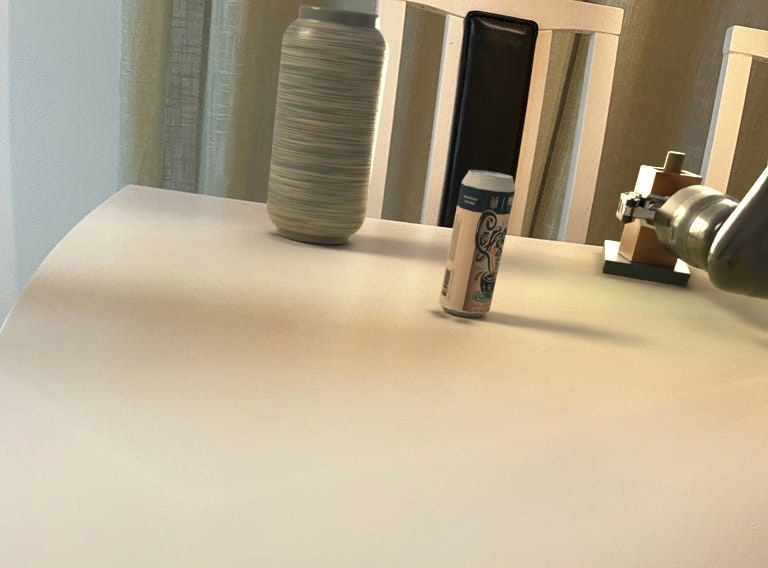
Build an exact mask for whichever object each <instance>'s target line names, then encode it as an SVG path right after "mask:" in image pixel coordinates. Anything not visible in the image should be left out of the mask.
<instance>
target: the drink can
mask: <svg viewBox="0 0 768 568" xmlns="http://www.w3.org/2000/svg"><path fill="white" fill-rule="evenodd" d="M515 193H516V186H515V181H514V177H513V176H512V175H510V174H509V175H508V174H505V173H501V172H495V171H489V170H479V169H469V170H468V172H467V173H466V174H465V176H464V177H463V179H462V181H461V183H460V189H459V194H458V199H457V204H456V210H455V215H454V221H453V225H452V231H451V236H450V240H449V241H450V242H449V246H448V252H447V257H446V258H447V259H446V262H445V268H444V273H443V279H442V284H441V290H440V293H439V300H438V304H439V306H441V308H443V310H444V311H445V312H446V313H449V314H451V315H455V316H459V317H463V318H464V317H465V318H479V317H482V316H483V315H485V314H488V313H489V312H490V310H491V306H492V301H493V297H494V291H495V287H496V282H497V277H498V272H499V268H500V264H501V259H502V254H503V250H504V245H505V240H506V236H507V232H508V226H509V221H510V217H511V212H512V208H513V204H514V198H515Z"/></svg>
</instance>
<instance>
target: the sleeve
mask: <svg viewBox="0 0 768 568" xmlns="http://www.w3.org/2000/svg"><path fill="white" fill-rule="evenodd" d="M663 169H664V167H656V166H650V165H649V166H648V165H641V166H640V169H639V172H638V177H637V179H636V183H635V187H634V191H633V192H636V193H638V194H642V195H643V196H647V195H648V194H657V195H661V196H665V197H666V196H673V195H674V194H675V193H677V192H678V191H680V190H682V189H684V188H686V187H690V186H696V185H700V186H702V182H703V176H700V175H697V174H694V173H692V172H689V171H687V170H681V173H680V174H676V173H669V172H663ZM658 203H660V202H658ZM644 205H645V203H643V207H642V208H644ZM619 242H620V245H619V249H618V253H619V254H621V255H622V256H624V257H625V258H627V259H628V260H630V261H631V262H639V263H647V264H655V265H663V266H671V267H676V264H677V260H678V258H676V257H675V256H673V255H671V254H670V253H668V252H667V251H666V250H665V249H664V248H663V247H662V246H661V244H660V242H659V239H658V236H657V232H656V231H655V229H652V228H649V227H645V226H642V225H640V221H639V220H638V219H635V221H634V222H631V223H628V224H624V227H623V231H622V235H621V238H620V241H619Z"/></svg>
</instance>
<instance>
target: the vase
mask: <svg viewBox="0 0 768 568" xmlns="http://www.w3.org/2000/svg"><path fill="white" fill-rule="evenodd" d="M298 7H299V8H298V17H297V19H295V20H294V21H292V22H291V23H290V24H289V26H288V27H287V28H286V30H284V31H285V32H284V33H283V36H282V41H281V51H280V62H279V71H278V83H277V93H276V104H275V115H274V124H273V133H272V134H273V136H272V145H271V156H270V167H269V176H268V187H267V198H266V212H267V215H268V217H269V219H270V221H271V222H272V224H274V226H275V227H276V233H277V234H278V235H279V236H280V237H283V238H285V239H290V240H292V241H297V242H302V243H307V244H316V245H326V246H327V245H329V246H330V245H331V246H332V245H333V246H334V245H338V246H339V245H345V244H348V243H349V242H350V240H351V239H350V238H351V236H353V235H355V234H356V233H357V232H358V231H359V230H360V229H361V228H362V226H363V224H364V222H365V219H366V213H367V206H368V205H367V204H368V199H369V193H370V186H371V179H372V172H373V166H374V165H373V164H374V158H375V151H376V144H377V136H378V130H379V123H380V116H381V108H382V102H383V96H384V95H383V94H384V89H385V80H386V73H387V67H388V60H389V53H390V52H389V45H388V41H387V40H386V37H385V35H384V34H383V33H382V32H381V31H380V23H381V22H380V20H381V17H380V15H378V14H374V13H368V12H361V11H354V10H347V9H341V8H340V9H339V8H333V7H326V6H325V7H324V6H317V5H307V4H301V5H300V6H298Z"/></svg>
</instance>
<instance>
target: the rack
mask: <svg viewBox="0 0 768 568" xmlns="http://www.w3.org/2000/svg"><path fill="white" fill-rule="evenodd" d="M686 156H687V155H686V153H683V152H678V151H668V152H667V155H666V159H665V162H664V166H663V168H664V169H663V172H669V173H676V174H680V173H681V171H682V169H683V165H684V162H685V158H686ZM619 245H620V241H614V240H608V239H605V240H604V242H603V247H602V251H601V272H602V273H603V274H609V275H614V276H620V277H626V278H632V279H637V280H638V279H639V280H643V281H650V282H655V283H662V284H668V285H672V286H673V285H674V286H680V287H688V284H689V282H690V278H691V275H692V274H691V272H690V269H689V267H688V264H687V263H685V262H683V261H681V260H680V259H678V260H677V264H676V267H671V266H663V265H655V264H647V263H639V262H631V261H630V260H628V259H627V258H625V257H624V256H622V255H621V254H619V253H618V249H619Z"/></svg>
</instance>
